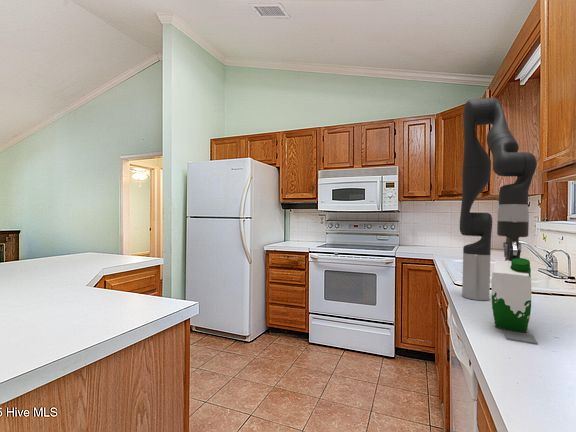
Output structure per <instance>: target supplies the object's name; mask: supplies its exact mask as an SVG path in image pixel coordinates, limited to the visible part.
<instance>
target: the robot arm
mask: <svg viewBox="0 0 576 432" xmlns="http://www.w3.org/2000/svg"><path fill="white" fill-rule="evenodd" d="M462 117H463V160H462V173H461V174H462V175H461V176H462V181H461V182H462V185H461V186H462V190H461V191H462V194H461V206H460V217H459V232H460V234H461V235H462V236H464V237H465V236H467V237H468V236H470V237H481V238H480V239H479V240H478V241H475V242H472V243H469V244H465V245H463V249H462V283H461V284H462V285H461V286H462V289H461V292H462V293H461V295H462V297H463V298H465V299H468V300H474V301H489V300H490V297H491V295H490V292H491V291H490V288H491V287H490V285H491V281H490V280H491V253H492V252H491V251H492V250H491V249H492V248H491V247H492V246H491V245H492V233H493V232H492V231H493V217H492V214H491V213H489V212H471V209H472V206H473V204H474V203H475V201H476V199H477V197H478V196H479V195H480V194H481V193H482V191H484V189H485V188H486V186H487V185H488V183H490V180H491V174H492V171H493V172H494V174H495V175H497V176H499V177H516V180H515V181H514V183H510V184H504V185H502V186H500V188H499V189H498V191H499V192H498V209H497V224H496V227H497V228H496V230H497V231H496V235H497V236H499V237H506V238H505V241H504V242H503V257H504V261H506V260H508V261H512V259H514V258H521V253H522V243H520V240H519V238H527V237H529V228H530V227H529V224H530V223H529V221H530V220H529V219H530V218H529V217H530V213H529V192H530V191H529V190H530V187H531V183H532V180H533V177H534V175H535V172H536V169H537V165H538V163H537V162H538V161H537V158H536V156H535V155H534V154H533V153H531V152H528V151H526V152H523V151H522V152H521V151H520V152H519V148H520V147H519V144H518V141H517V140H516V139H515V137H514V135H513V134H512V132H511V131H510V128H509V125H508V122H507V118H506V114H505V112H504V109H503V106H502V103H501V102H500V100H499V99H498V98H496V97H485V98H474V99H469V100H467V101H466V102H465V104H464V107H463V114H462ZM486 125H491V128H490V129H489V130H488V133H487V135H486V144H487V145H486V146H488V149H489V150H490V152H491V155H492V156H491V157H492V160H491V158H490V156H489V154H488V152H487V151H486V150H485V148H484V146H483V145H482V144H481V143H480V140H479V137H478V135H477V128H476V126H486Z"/></svg>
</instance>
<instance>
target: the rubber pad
mask: <svg viewBox="0 0 576 432" xmlns="http://www.w3.org/2000/svg"><path fill="white" fill-rule="evenodd" d="M503 334H504V336H505V340H508V341H514V342H520V343H525V342H526V343H525V344H533V345H538V343H539V342H538V341H537V339H536V338H535V336H534V334H532V333H531V334H530V333H527V332H526V333H523V332H518V331H513V330H508V329H503Z"/></svg>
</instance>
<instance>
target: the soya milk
mask: <svg viewBox="0 0 576 432" xmlns="http://www.w3.org/2000/svg"><path fill="white" fill-rule="evenodd" d="M531 272H532V269H531V261H530V260H529V259H527V258H524V257H520V258H514V259H512V261H508V260H506V261H505V260H497V259H495V262H494V266H493V269H492V275H491V279H490V280H491V281H490V285H491V309H492V316H493V320H494V325H495V326H494V327H495V328H499V329H503V330H507V331H513V332H519V333H526V334H527V331H528V327H529V323H530V317H531V311H532V278H531V277H532V276H531Z"/></svg>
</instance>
